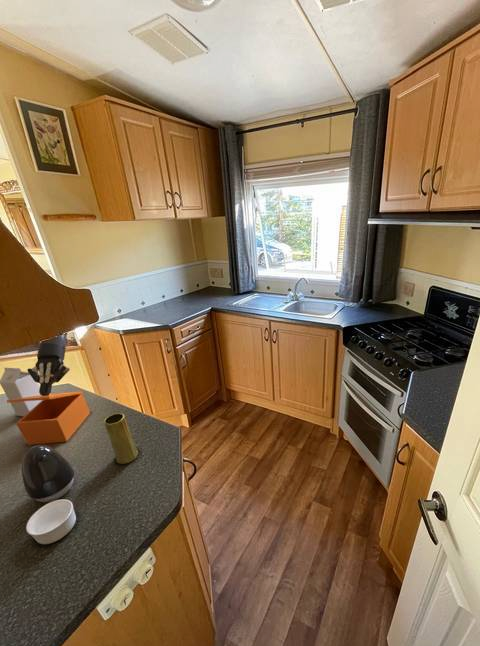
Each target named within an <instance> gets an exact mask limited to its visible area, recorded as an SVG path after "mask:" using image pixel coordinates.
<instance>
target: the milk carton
mask: <svg viewBox="0 0 480 646" xmlns="http://www.w3.org/2000/svg"><path fill="white" fill-rule="evenodd" d="M3 369H4V372H3V374H2V375H1V378H0V386H1V388H2V390H3V392H4V394H5V395H6V398H7V400H11V399H18V398H24V397H31V396H37V395H40V393H39V389H40V384H39V383H37V382H35V381H34V380H33V378H32V377H31V375H30V374H29V373H28V371H22V369H21V368H19V367H5V366H4V367H3ZM41 401H42V400H36V401H23V402H11V403H10V405H11V407H12V409H13V411H14V413H15V414H16V417H24V416H25V415H26V414H27V413H28V412H30V411H31V410H32V409H33V408H34V407H35V406H36V405H38V404H39V403H40V402H41Z"/></svg>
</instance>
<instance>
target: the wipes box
mask: <svg viewBox="0 0 480 646" xmlns="http://www.w3.org/2000/svg"><path fill="white" fill-rule="evenodd" d="M90 414H91V412H90V409H89V407H88V404H87V402H86V399H85V397H84V394H83V393H82V394H76V395H71V396H65V397H60V398H54V399H48V400H42V401H41V402H40V403H39V404H38V405H36V406H35V407H34V408H33V409H32V410H31V411H30V412H28V413H27V414H26V415H25V416H22V417H21V418H20V419H19V420H18V421H17V422H16V423H15V425H16V427H18V430H19V431H20V433H21V436H22V437H23V439H24V441H25V443H26V444H27V445H28V446H29V445H43V444H52V443H54V444H55V443H64V442H68V441H69V440H70V438H71V437H72V436H73V435H74V434H75V433H76V432H77V430H78V429H79V427H80V426H81V425H82V424H83V423H84V422H85V420H86V419H87V418H88V416H89V415H90Z"/></svg>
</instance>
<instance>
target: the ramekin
mask: <svg viewBox="0 0 480 646" xmlns="http://www.w3.org/2000/svg"><path fill="white" fill-rule="evenodd" d="M76 521H77V515H76V513H75V509H74V504H73V502H72V501H71V500H69V499H66V498H65V499H64V498H63V499H56V500H53V501H50V502H47V504H45V505H43V506H42V507H40V508H39V509H38V510H36V511H35V512H34V513H33V514H32V515H31V516H30V517H29V519H28V520H27V522H26V526H25V531H26V532H27V534H29V536H31V537H32V538H33V539H34V540H35V541H36V543H38V544H41V545H50V544H52V543H55V542H57V541H59V540H61V539H63V538H64V537H65V536H67V534H69V532H71V531H72V529H73V528H74V526H75V524H76Z"/></svg>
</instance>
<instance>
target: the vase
mask: <svg viewBox="0 0 480 646" xmlns="http://www.w3.org/2000/svg"><path fill="white" fill-rule="evenodd" d="M103 425H104V426H105V429H106V432H107V434H108V437H109V441H110V444H111V447H112V449H113V453H114V455H115V461H116V463H117V464H121V465H125V464H129V463H131V462H133V461H134V460H135V459H136V458H137V457H138V455H139V451H138V448H137V446H136V444H135V442H134V439H133V437H132V434H131V431H130V429H129V425H128V422H127V420H126V416H125V414H124V413H121V412H115V413H112V414H110V415H108V416H106V417H105V418H104V420H103Z"/></svg>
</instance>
